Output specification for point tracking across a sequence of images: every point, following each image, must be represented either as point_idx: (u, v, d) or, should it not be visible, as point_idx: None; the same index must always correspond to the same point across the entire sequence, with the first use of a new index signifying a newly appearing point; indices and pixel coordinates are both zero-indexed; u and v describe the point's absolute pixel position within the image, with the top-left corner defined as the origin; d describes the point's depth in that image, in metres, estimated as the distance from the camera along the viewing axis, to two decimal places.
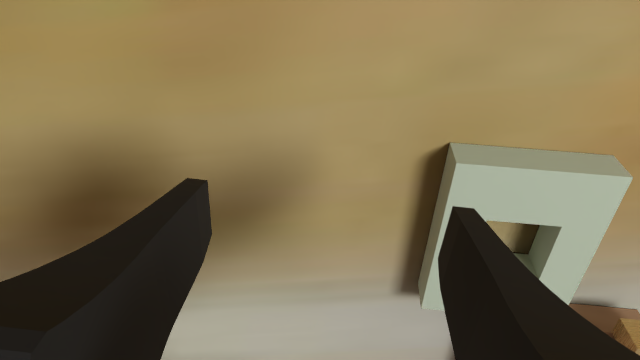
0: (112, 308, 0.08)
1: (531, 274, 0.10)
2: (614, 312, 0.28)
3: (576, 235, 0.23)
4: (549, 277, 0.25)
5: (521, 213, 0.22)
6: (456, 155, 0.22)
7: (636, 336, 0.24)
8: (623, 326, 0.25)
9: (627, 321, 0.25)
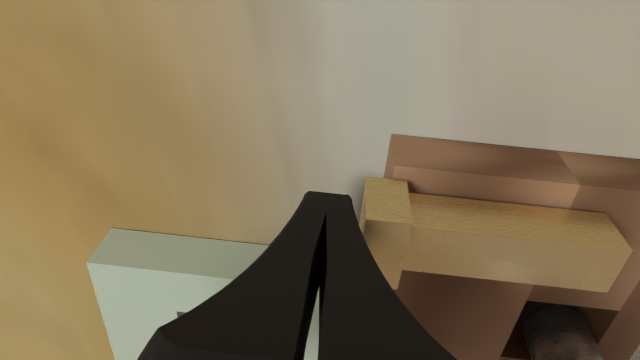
0: (301, 330, 0.08)
1: (368, 256, 0.10)
2: None
3: (185, 296, 0.17)
4: None
5: None
6: None
7: None
8: None
9: None
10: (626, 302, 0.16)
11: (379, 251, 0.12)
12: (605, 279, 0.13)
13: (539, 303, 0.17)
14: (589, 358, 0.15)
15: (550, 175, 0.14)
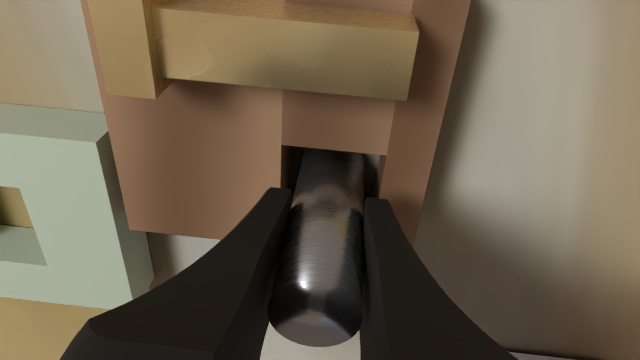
0: (241, 323, 0.08)
1: (418, 262, 0.10)
2: None
3: None
4: (8, 175, 0.15)
5: None
6: None
7: None
8: None
9: None
10: (390, 143, 0.13)
11: (116, 38, 0.10)
12: (399, 80, 0.10)
13: (311, 158, 0.15)
14: (330, 197, 0.13)
15: None
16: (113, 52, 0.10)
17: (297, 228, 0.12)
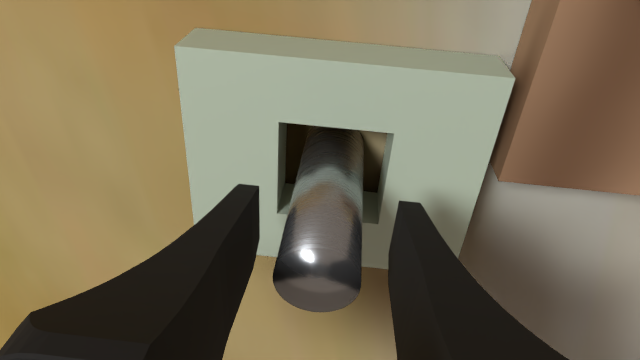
0: (192, 317, 0.08)
1: (461, 266, 0.10)
2: None
3: (293, 97, 0.14)
4: (389, 118, 0.14)
5: (260, 176, 0.16)
6: None
7: None
8: None
9: None
10: None
11: None
12: None
13: (313, 141, 0.16)
14: (331, 175, 0.13)
15: None
16: None
17: (300, 203, 0.13)
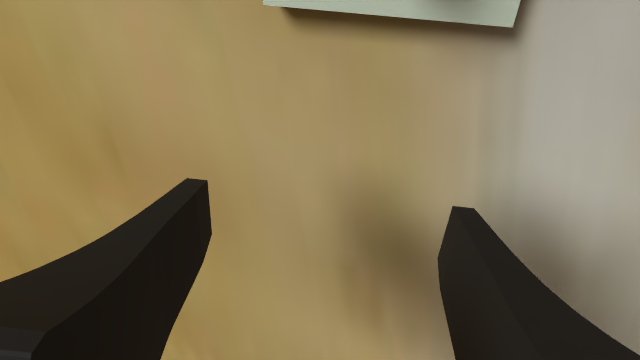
0: (112, 308, 0.08)
1: (531, 274, 0.10)
2: None
3: None
4: None
5: None
6: None
7: None
8: None
9: None
10: None
11: None
12: None
13: None
14: None
15: None
16: None
17: None
